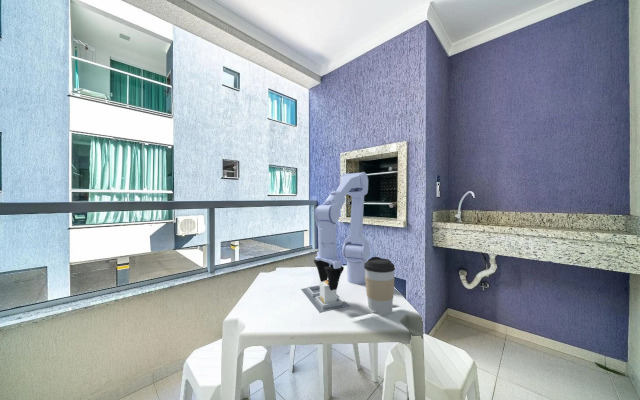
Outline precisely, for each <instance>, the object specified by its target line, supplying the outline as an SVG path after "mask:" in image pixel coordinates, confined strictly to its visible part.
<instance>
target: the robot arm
mask: <svg viewBox="0 0 640 400" xmlns="http://www.w3.org/2000/svg"><path fill="white" fill-rule="evenodd" d="M339 181H340V184H339V185H338V187H337V189H336V190H333V191H330V194H328V197H327V198H326V199H325V200H324V202H323V203H322V204H319V205H318V206H316V208H315V209H314V213H313V219H314V220H315V224H316V225H315V226H316V228H317V231H318V232H317V235H318V237H317V239H318V251H316V256H315V257H314V258H315V259H314V260H313V262H314V265H315V266H316V269H317V272H318V277H319V280H320V281H319V282H324V281H325V280H328V282H329V288H330V290H336V291H337V290H338V287H339V282H340V278H341V275H342V273H343V271H344V266H342V263H341V262H342V261H341V260H340V259H339V257H338V253H337V251H338V250H337V222H339V219H340V213H341V209H342V207H343V206H344V204H345V202H346V196H347V195H349V196H350V197H351V211H350V227H349V228H350V230H349V236H347V237H346V238H345V239H344V240H343V245H342V248H341V249H342V250H341V252H342V256H343V258H344V259H345V261H346V266H347V267H346V269H347V271H346V273H347V274H346V275H347V276H346V277H347V282H348V283H350V284H351V285H352V284H353V285H354V284H355V285H362V284H366V281H365V268H364V264H365V263H366V262H367V261H368V260H369V259H370V242H369V241H368V239H366V238H365V237H364V236H363V225H364V223H363V222H364V205H365V204H364V203H365V196H366V195H367V194H368V193H369V192H368V191H369V177H368V174H367V173H366V172H365V171H362V172H354V173H343V174H341V176H340V179H339Z"/></svg>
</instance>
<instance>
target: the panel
mask: <svg viewBox="0 0 640 400" xmlns="http://www.w3.org/2000/svg"><path fill="white" fill-rule="evenodd" d="M300 290H301V291H302V293H303V294H304V295H305V296H306V297H307V299H308V300H309V302H311V304H312V305H313V306H314V307H315V308H316V310H317V311H318V313H319V314H321V313H325V312H326V313H327V312H329V311H333V310H334V311H335V310H339V309H344V308H347V307H351V305H350V304H349V303H348V302H346V301H345V300H344V299H343V298H342V297H340V296H339V295H338V293H336V296H337V302H333V303H328V304H323V303H322V302H321V300H320V284H318V285H312V286H311V285H310V286H307V287H304V288H300Z"/></svg>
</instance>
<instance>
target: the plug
mask: <svg viewBox="0 0 640 400" xmlns="http://www.w3.org/2000/svg"><path fill="white" fill-rule="evenodd" d="M319 285H320V300H321V302H322V303H323V304H328V303H333V302H337V296H336V294H337V289H336V290H330V288H329V282H328V279H327V280H325V281H324V282H321V281H319Z"/></svg>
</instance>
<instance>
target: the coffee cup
mask: <svg viewBox="0 0 640 400" xmlns="http://www.w3.org/2000/svg"><path fill="white" fill-rule="evenodd" d="M364 268H365V281H366V283H365V289H366V290H365V291H366V296H367V307H368V308H369V310H371V311H373V312H372V314H375V315H378V316H387V315H390V314H391V313H392V312H393V300H394V295H395V294H394V293H395V292H394V291H395V290H394V289H395V270H396V267H395V264H394V263H393V262H392V261H391V260H390V259H387V258H381V257H379V256H372V257H371V258H370V257H369V258H368V261H367V262H366V263H365V264H364Z"/></svg>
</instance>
